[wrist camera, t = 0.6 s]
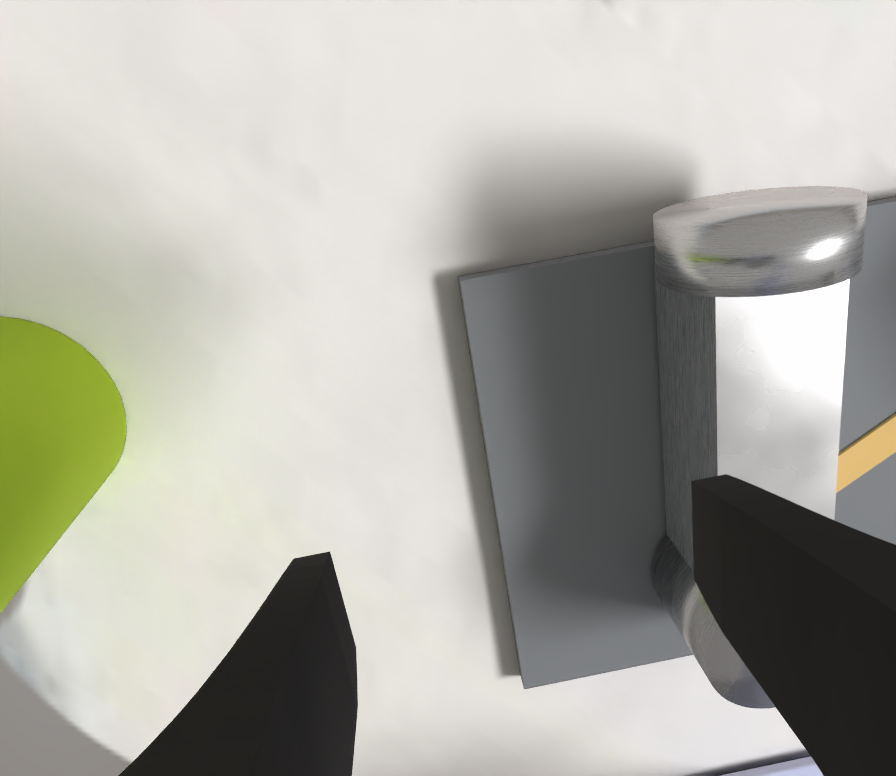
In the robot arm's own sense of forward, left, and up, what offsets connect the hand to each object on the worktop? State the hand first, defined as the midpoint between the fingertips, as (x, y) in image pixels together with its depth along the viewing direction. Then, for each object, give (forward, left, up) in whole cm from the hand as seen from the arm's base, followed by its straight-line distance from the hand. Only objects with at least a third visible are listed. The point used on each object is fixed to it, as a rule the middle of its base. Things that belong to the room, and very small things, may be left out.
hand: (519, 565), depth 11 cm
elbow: (-3, -8, -9) cm, 12 cm away
